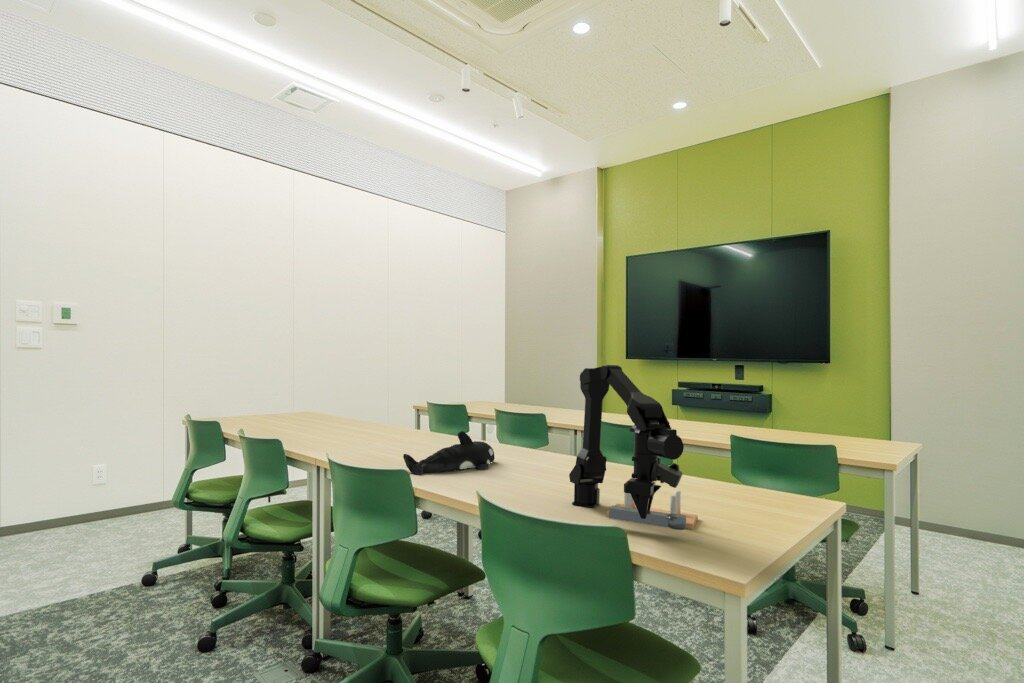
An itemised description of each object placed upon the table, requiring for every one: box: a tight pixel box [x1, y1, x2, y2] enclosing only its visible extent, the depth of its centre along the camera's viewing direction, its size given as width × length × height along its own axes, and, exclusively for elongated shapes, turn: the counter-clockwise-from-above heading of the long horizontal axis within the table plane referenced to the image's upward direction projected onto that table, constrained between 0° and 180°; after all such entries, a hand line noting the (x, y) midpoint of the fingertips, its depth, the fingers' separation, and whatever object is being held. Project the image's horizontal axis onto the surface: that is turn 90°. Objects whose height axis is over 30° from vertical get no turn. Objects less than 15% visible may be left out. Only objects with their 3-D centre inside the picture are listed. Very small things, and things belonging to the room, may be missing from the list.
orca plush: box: [402, 430, 496, 476], centre depth 206 cm, size 21×41×14 cm, turn 123°
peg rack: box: [606, 490, 699, 530], centre depth 142 cm, size 22×10×7 cm, turn 64°
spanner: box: [608, 505, 687, 531], centre depth 129 cm, size 18×4×2 cm, turn 64°
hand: (644, 516), depth 129 cm, fingers closed on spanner, 3 cm apart
